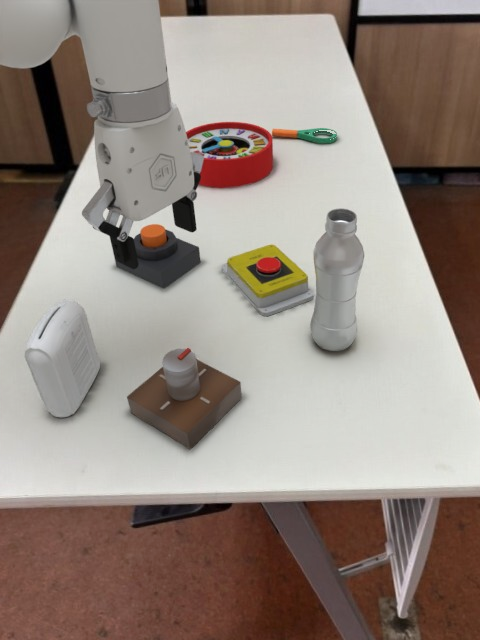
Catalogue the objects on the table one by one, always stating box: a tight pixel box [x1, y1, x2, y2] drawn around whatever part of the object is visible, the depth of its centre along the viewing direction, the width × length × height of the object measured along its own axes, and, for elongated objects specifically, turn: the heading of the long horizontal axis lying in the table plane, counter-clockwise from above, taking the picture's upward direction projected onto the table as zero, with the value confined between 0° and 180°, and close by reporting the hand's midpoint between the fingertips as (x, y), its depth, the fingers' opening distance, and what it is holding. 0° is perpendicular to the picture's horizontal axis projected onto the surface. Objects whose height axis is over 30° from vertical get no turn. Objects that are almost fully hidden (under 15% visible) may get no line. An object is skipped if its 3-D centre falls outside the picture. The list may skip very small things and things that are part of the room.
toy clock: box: [186, 121, 274, 189], centre depth 122 cm, size 20×6×20 cm
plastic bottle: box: [309, 208, 365, 352], centre depth 75 cm, size 6×7×20 cm
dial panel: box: [126, 358, 243, 450], centre depth 72 cm, size 10×10×3 cm
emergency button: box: [221, 244, 314, 317], centre depth 91 cm, size 9×4×15 cm
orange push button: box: [139, 223, 167, 247], centre depth 93 cm, size 4×4×2 cm
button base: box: [112, 228, 202, 289], centre depth 95 cm, size 11×9×5 cm
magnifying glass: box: [271, 127, 338, 144], centre depth 134 cm, size 15×6×2 cm, turn 81°
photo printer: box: [24, 298, 101, 418], centre depth 71 cm, size 10×4×12 cm, turn 170°
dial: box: [161, 347, 200, 401], centre depth 69 cm, size 4×4×5 cm
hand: (158, 245), depth 69 cm, fingers open, 9 cm apart
